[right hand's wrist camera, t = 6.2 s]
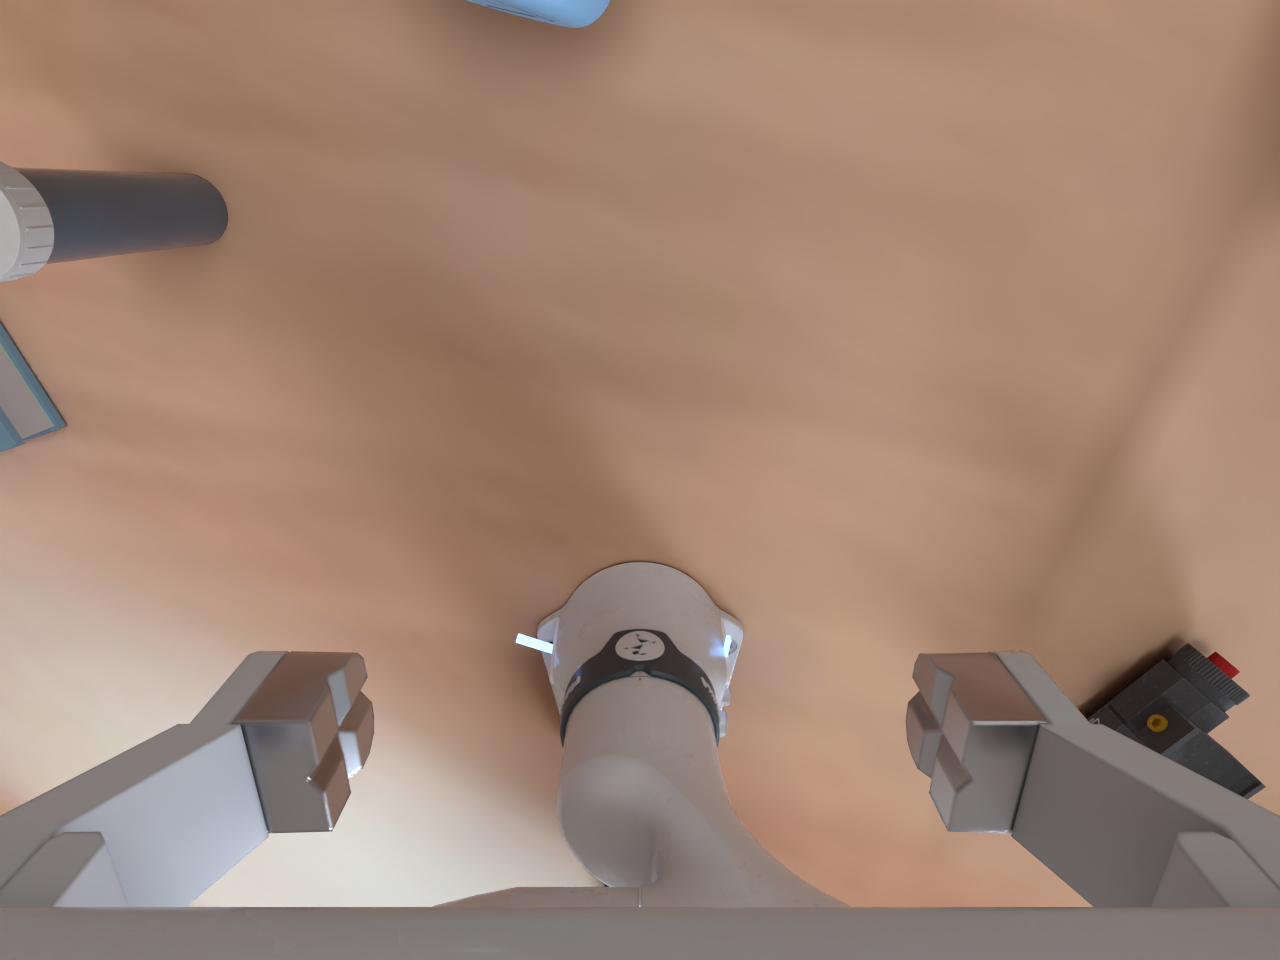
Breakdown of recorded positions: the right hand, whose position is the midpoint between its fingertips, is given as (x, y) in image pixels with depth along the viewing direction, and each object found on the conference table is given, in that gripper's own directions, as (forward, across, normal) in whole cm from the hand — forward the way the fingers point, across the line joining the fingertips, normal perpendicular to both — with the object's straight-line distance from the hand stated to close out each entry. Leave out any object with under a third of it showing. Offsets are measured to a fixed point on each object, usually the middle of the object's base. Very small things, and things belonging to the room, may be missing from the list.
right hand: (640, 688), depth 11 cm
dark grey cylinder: (+48, -33, +6) cm, 58 cm away
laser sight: (+48, +45, -41) cm, 77 cm away
